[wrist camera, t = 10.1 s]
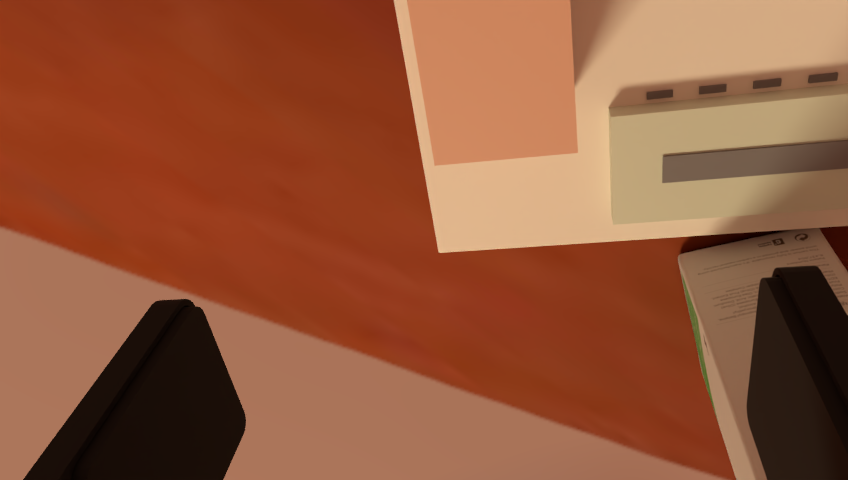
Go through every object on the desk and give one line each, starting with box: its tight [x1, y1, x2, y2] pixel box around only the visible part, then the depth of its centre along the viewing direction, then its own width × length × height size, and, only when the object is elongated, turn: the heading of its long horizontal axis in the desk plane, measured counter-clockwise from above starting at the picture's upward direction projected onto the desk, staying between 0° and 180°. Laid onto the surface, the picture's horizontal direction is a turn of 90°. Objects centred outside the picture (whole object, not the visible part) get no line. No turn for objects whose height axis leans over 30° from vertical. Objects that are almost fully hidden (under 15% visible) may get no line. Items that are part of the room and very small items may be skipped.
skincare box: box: [678, 228, 848, 480], centre depth 28 cm, size 8×7×16 cm
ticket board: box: [394, 0, 848, 253], centre depth 28 cm, size 22×16×2 cm
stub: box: [407, 0, 578, 166], centre depth 25 cm, size 5×6×5 cm
